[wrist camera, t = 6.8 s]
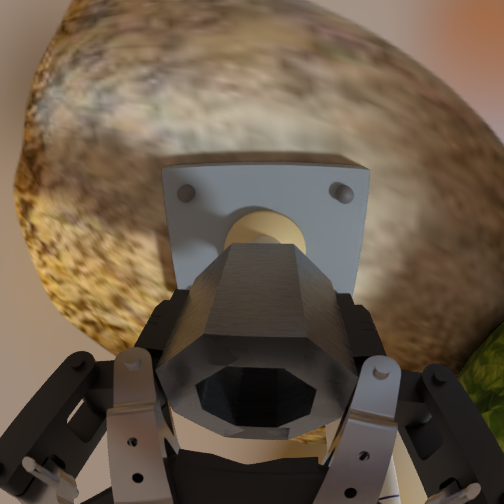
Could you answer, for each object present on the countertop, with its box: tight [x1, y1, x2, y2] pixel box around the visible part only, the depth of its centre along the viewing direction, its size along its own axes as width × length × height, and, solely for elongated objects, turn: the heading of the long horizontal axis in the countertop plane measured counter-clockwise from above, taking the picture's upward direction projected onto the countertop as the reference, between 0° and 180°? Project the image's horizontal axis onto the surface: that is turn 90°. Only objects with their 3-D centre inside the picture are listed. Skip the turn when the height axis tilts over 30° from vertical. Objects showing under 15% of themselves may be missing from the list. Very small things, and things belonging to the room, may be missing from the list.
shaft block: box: [161, 162, 370, 297], centre depth 14 cm, size 12×10×8 cm
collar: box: [155, 243, 359, 440], centre depth 9 cm, size 6×6×5 cm
